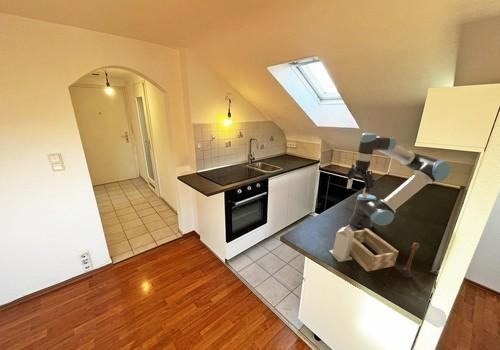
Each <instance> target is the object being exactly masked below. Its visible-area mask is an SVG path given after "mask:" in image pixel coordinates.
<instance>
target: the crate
mask: <svg viewBox="0 0 500 350" xmlns="http://www.w3.org/2000/svg"><path fill="white" fill-rule="evenodd" d="M352 231H353V230H352ZM353 232H354V236H353V241H352V245H351V249H350V253H349V256H350V257H351V258H352V259H354V261H356V262H357V263H358V264H359V265H360V266H361V267H362V268H363V269H364V270H365V271H366V272H371V271H376V270H381V269H385V268H391V267H394V266H395V263H396V261H397V259H398V256H399V253H400V252H399V250H397V249H396V248H395V247H394V246H392V245H391V244H389V243H388V242H387V241H385V240H384V239H382V237H380V236H379V235H377V234H376V233H374V232H373V231H372V230H371V229H368V228H366V229H360V230H354V231H353ZM362 243H364V244H366V246H367V247H369V249H370V248H371V250H372V251H374V252H375V253H376V255H375V254H374V253H373V252H371V251H370V250H369V249H368V248H367V247H365V246H364V244H362Z"/></svg>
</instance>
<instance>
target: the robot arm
mask: <svg viewBox="0 0 500 350" xmlns="http://www.w3.org/2000/svg"><path fill="white" fill-rule="evenodd" d="M374 151H378V152H380V153H382V154H384V155H385V156H388V157H390V158H392V159H394V160H397V161H398V162H399V163H400V164H401V165H404V166H406V167H407V168H409V169H411V170H412V171H413V175H412V176H410V177H409V178H408V179H407V180H406V181H404V182H403V183H402V184H400V185H399V186H398V187H397V188H395V190H394V191H392V192H391V193H390V194H388V195H387V196H386V197H385V198H384V199H379V200H378V199H377V196H375V195H373V194H369V193H370V189H373V188H374V180H373V170H369V168H370V166H371V161H372V158H373V153H374ZM356 156H357V157H356V161H355V164H351V168H350V169H349V170H348V172H347V173H346V174H345V177H347V185H346V189H352V185H353V180H354V177H355V176H357V175H359V176H361V177H362V179H363V183H364V186H365V187H364V188H363V191H362V193H361V194H358V195H357V198H356V201H355V207H354V211H353V213H352V214H351V216H350V217H349V223H350V224H351V226H354V227H355V228H357V229H360V230H364V229H366V228H368V229H369V230H371V229H372V228H373V224H374V223H375V225H378V226H386V225H389V224H391V223H392V221H394V218H395V214H396V209H398V208H399V207H400V206H402V205H403V204H404V203H405V202H406V201H408V200H409V199H410V198H411V197H412V196H414V195H415V194H416V193H418V192H419V191H420V190H421V189H423V188H424V187H425V186H427V185H428V184H433V183H435V182H436V181H437V182H438V181H439V182H441V181H445V180H446V179H447V178H448V177H449V176H450V174H451V165H450V163H449V162H447V161H445V160H442V159H438V158H436V157H432V156H427V155H424V154H419V153H416V152H413V151H410V150H409V151H407V150H406V149H403V148H401V147H399V146H397V140H396V138H395V137H390V136H387V137H386V136H382V135H377V134H376V133H371V132H370V133H369V132H364V133H362V134H361V136H360V139H359V146H358V152H357V155H356Z"/></svg>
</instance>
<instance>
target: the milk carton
mask: <svg viewBox="0 0 500 350" xmlns="http://www.w3.org/2000/svg"><path fill="white" fill-rule="evenodd" d="M353 236H354V232H353V229H352V228H351V226H350V224H348V225H346V226H343V227H341V228H340V229H339V230H338V231H337V232H336V234H335V240H334V243H333V247H332V248H333V249H332V250H333V253H332V254H334V255H335V256H337V257H339V258H341V259H343V260H345V259H346V258H347V257H348V255H349V256H350V254H349V253H350V249H351V245H352V241H353ZM332 254H331V255H332Z"/></svg>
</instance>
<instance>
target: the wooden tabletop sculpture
mask: <svg viewBox="0 0 500 350" xmlns="http://www.w3.org/2000/svg"><path fill="white" fill-rule="evenodd" d="M411 248H412V249H411V252H410V255H409V257H408V260H407V261H406V264H405V266H404V267H403V268H401V269H400V270H399V274H400V275H401V276H402V277H403V278H406V279H410V278H411V277H412V272H411V266H412V261H413V259H414V256H415V254H416V251H417V250H418V249H419V248H420V243H419V242H413V243H412V245H411Z"/></svg>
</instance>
